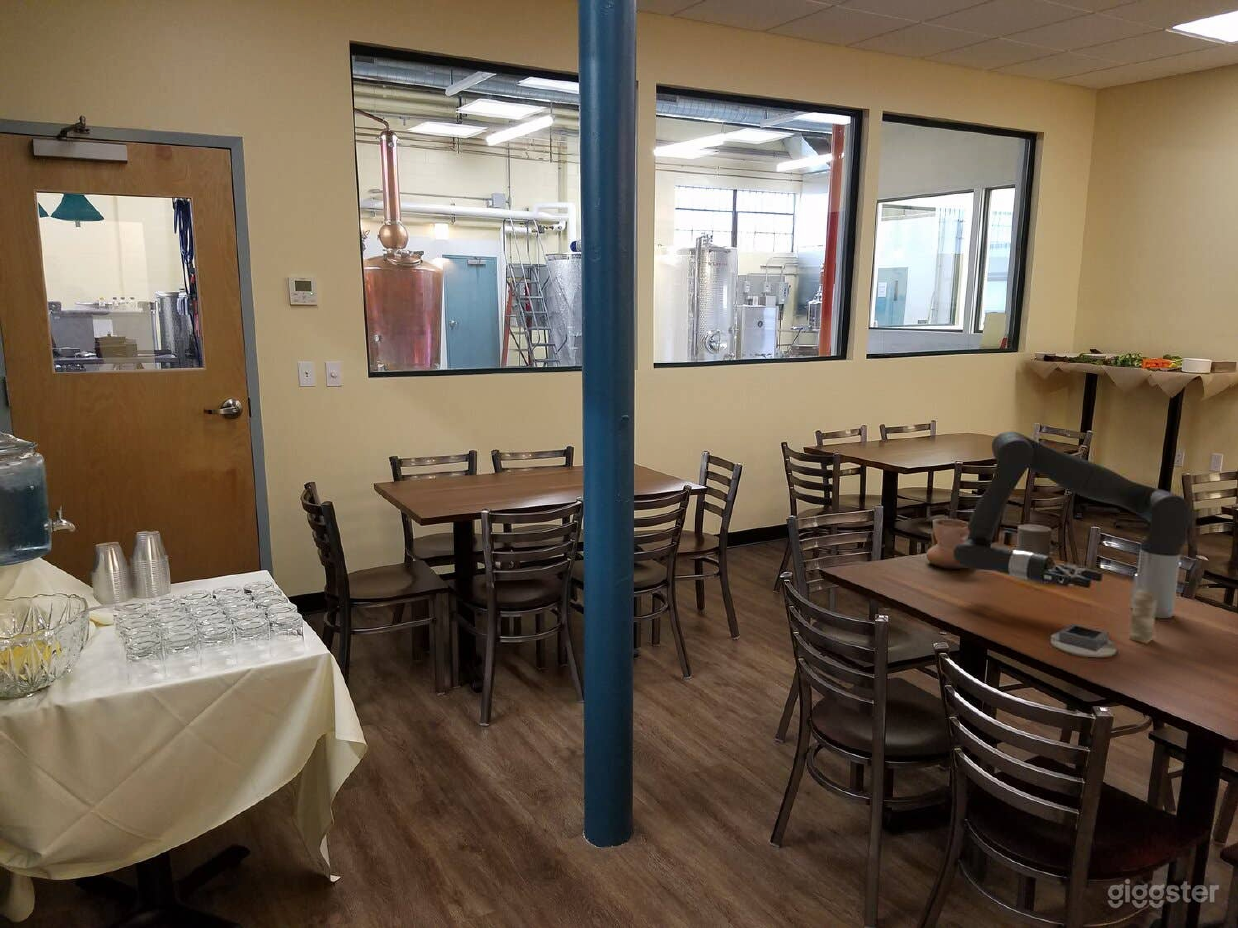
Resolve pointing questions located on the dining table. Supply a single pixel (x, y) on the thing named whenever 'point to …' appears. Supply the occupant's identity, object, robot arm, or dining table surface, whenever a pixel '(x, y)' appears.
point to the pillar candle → (1034, 539)
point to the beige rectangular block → (1143, 616)
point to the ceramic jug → (947, 542)
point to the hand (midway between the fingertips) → (1096, 580)
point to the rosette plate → (1084, 641)
